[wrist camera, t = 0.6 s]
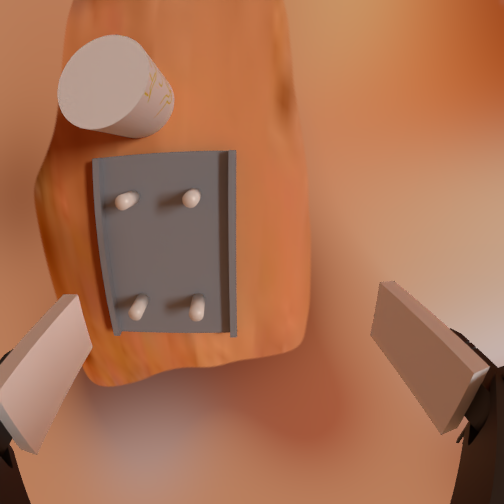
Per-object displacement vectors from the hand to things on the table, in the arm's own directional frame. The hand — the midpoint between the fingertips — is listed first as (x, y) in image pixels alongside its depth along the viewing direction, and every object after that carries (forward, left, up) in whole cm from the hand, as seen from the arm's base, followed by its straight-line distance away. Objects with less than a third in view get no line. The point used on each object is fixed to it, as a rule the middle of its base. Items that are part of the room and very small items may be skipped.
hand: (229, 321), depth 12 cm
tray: (+4, -7, -23) cm, 25 cm away
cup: (-13, -10, -24) cm, 29 cm away
